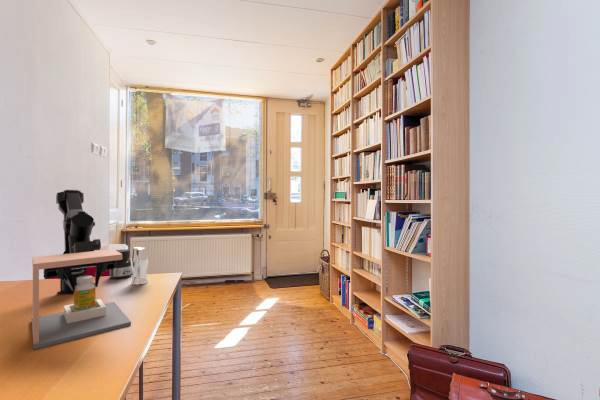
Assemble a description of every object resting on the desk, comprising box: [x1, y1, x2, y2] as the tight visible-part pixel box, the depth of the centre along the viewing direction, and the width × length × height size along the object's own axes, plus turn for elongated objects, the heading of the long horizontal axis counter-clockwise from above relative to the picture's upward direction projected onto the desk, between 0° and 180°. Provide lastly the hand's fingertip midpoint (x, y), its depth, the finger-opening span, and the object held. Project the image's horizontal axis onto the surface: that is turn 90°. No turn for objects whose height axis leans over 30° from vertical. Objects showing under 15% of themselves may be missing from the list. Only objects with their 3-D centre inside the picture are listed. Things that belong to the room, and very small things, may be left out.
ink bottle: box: [109, 248, 133, 280], centre depth 139 cm, size 10×9×12 cm
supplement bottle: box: [73, 275, 97, 312], centre depth 92 cm, size 5×5×10 cm
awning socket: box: [31, 248, 132, 350], centre depth 88 cm, size 22×21×20 cm
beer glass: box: [129, 246, 150, 286], centre depth 129 cm, size 7×7×15 cm
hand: (85, 288), depth 91 cm, fingers closed on supplement bottle, 5 cm apart
